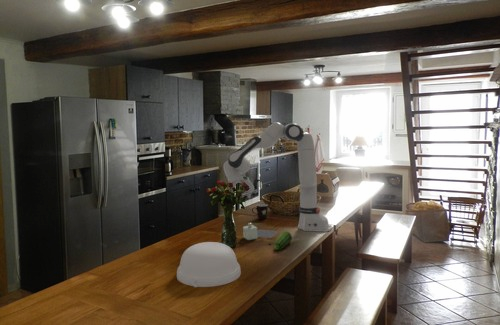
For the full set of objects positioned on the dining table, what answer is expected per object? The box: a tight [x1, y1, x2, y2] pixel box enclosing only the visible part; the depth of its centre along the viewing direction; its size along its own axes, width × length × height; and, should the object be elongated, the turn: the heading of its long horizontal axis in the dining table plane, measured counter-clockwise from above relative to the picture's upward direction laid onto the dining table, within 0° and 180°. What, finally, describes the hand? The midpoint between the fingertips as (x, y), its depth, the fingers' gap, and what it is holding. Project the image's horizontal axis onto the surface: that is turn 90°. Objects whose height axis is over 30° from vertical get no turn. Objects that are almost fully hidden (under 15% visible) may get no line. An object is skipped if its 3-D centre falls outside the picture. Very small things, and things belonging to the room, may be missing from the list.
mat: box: [257, 228, 280, 239], centre depth 249 cm, size 14×16×1 cm
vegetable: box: [273, 231, 293, 251], centre depth 223 cm, size 7×7×20 cm
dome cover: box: [176, 241, 242, 288], centre depth 184 cm, size 32×30×14 cm
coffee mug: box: [251, 203, 269, 221], centre depth 291 cm, size 12×9×10 cm
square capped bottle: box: [242, 222, 259, 241], centre depth 239 cm, size 6×6×10 cm
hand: (243, 198), depth 248 cm, fingers open, 8 cm apart
